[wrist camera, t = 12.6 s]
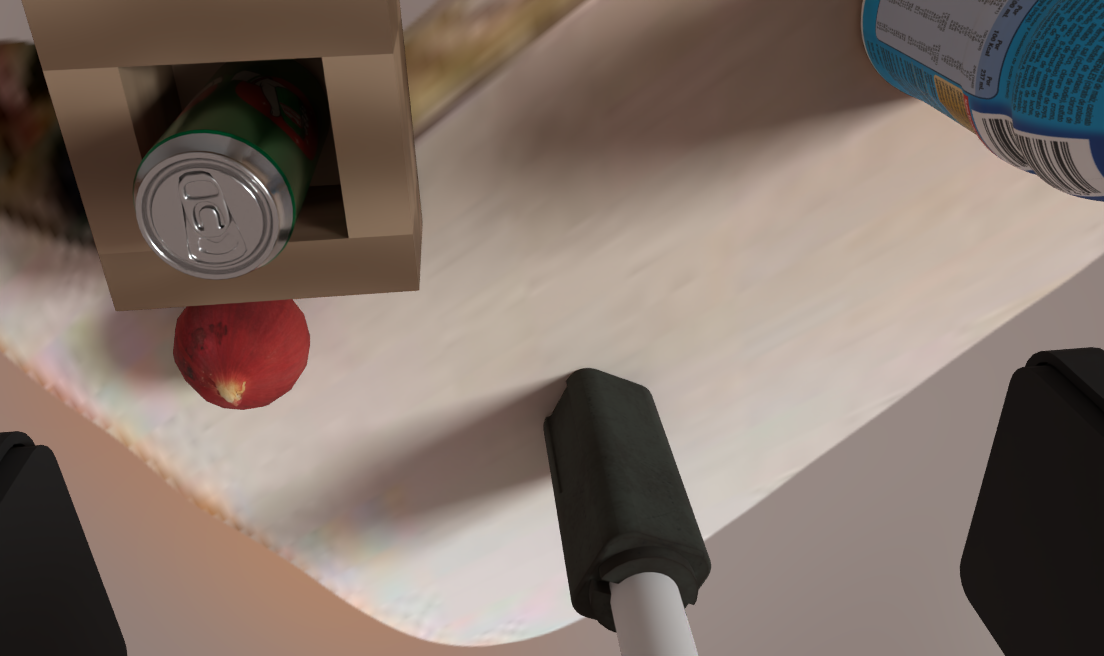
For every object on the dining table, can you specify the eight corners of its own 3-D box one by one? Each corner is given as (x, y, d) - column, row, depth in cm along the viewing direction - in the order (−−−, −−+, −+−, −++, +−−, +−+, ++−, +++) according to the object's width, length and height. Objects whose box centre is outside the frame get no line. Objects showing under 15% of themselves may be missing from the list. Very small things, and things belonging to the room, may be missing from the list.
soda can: (227, 171, 40) (151, 300, 30) (194, 55, 37) (97, 151, 27) (343, 157, 40) (307, 280, 30) (317, 40, 38) (268, 131, 27)
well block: (90, -37, 36) (19, -5, 30) (394, -50, 37) (384, -21, 31) (162, 238, 42) (115, 311, 36) (422, 222, 43) (419, 290, 37)
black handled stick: (576, 361, 48) (686, 817, 26) (660, 391, 49) (828, 844, 28) (536, 434, 50) (606, 911, 28) (617, 461, 52) (742, 932, 30)
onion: (191, 344, 45) (145, 442, 38) (199, 240, 42) (152, 325, 36) (310, 363, 46) (287, 461, 39) (325, 263, 44) (304, 349, 37)
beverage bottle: (861, -93, 38) (1206, -8, 21) (1055, -113, 39) (1550, -46, 21) (844, 105, 42) (1120, 311, 25) (1019, 85, 43) (1409, 274, 26)
